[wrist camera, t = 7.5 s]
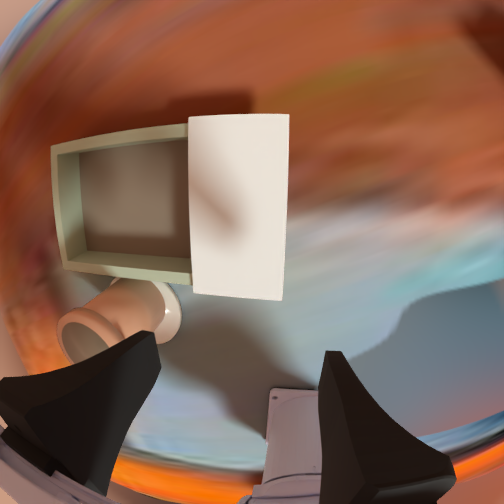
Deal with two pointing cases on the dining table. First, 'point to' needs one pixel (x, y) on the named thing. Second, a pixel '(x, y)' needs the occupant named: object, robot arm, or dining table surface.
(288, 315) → the dining table surface
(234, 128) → the box with sliding lid
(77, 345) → the pot
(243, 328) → the dining table surface
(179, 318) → the saucer
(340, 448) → the robot arm
